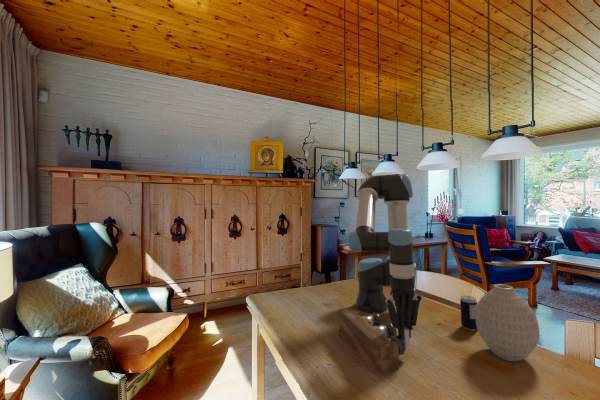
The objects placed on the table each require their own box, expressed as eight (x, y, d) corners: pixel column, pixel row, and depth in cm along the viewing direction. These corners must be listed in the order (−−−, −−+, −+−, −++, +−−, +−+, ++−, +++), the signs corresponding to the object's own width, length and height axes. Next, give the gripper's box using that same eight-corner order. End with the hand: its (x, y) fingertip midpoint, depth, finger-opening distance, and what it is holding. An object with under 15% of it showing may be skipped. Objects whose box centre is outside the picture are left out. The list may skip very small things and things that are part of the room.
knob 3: (394, 348, 86) (393, 331, 86) (405, 358, 81) (404, 340, 81) (370, 353, 84) (370, 336, 84) (380, 363, 79) (379, 344, 79)
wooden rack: (357, 328, 104) (356, 306, 105) (399, 368, 78) (398, 339, 79) (339, 332, 102) (338, 309, 103) (375, 374, 76) (374, 343, 77)
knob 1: (375, 324, 105) (374, 310, 105) (382, 330, 99) (382, 315, 99) (355, 327, 102) (354, 313, 103) (362, 333, 97) (361, 318, 97)
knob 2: (387, 334, 96) (387, 319, 96) (397, 341, 90) (396, 325, 91) (366, 338, 94) (366, 322, 94) (374, 346, 88) (374, 329, 88)
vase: (526, 378, 72) (521, 298, 73) (466, 350, 87) (463, 284, 87) (551, 360, 80) (546, 288, 80) (492, 337, 94) (489, 276, 95)
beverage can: (476, 325, 104) (474, 295, 104) (480, 332, 98) (479, 300, 99) (459, 324, 106) (458, 294, 106) (463, 330, 100) (462, 299, 101)
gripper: (411, 271, 90) (414, 339, 89) (378, 275, 87) (381, 345, 86) (426, 276, 83) (430, 350, 82) (391, 281, 79) (394, 358, 79)
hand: (405, 348), depth 84 cm, fingers closed
